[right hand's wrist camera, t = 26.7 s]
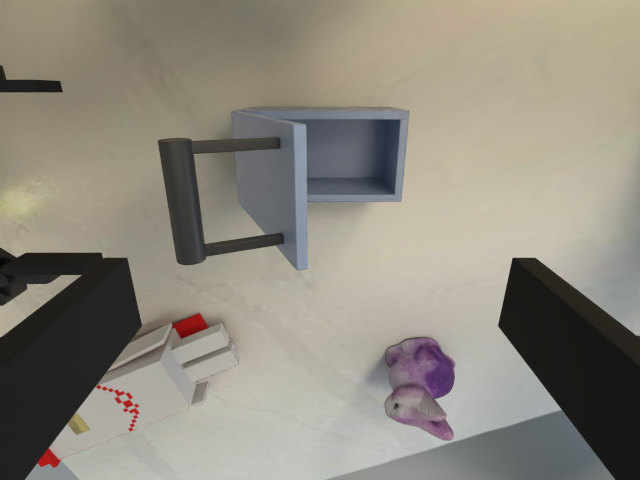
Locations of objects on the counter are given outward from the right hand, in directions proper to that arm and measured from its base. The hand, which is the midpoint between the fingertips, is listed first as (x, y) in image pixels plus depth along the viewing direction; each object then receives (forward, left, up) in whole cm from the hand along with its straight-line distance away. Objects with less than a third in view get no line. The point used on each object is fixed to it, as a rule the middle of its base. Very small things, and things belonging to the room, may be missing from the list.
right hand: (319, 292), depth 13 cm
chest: (0, 0, -38) cm, 38 cm away
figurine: (+22, +30, -38) cm, 53 cm away
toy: (+43, -7, -38) cm, 57 cm away
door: (+2, -4, -20) cm, 20 cm away
